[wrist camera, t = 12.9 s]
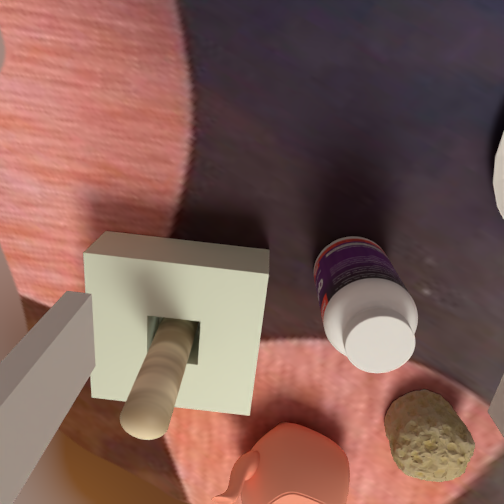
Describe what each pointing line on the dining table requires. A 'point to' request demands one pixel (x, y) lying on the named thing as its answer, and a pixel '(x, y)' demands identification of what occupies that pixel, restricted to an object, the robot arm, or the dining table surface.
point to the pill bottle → (365, 305)
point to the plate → (499, 176)
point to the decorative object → (428, 437)
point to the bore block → (177, 314)
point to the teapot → (290, 470)
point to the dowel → (159, 380)
